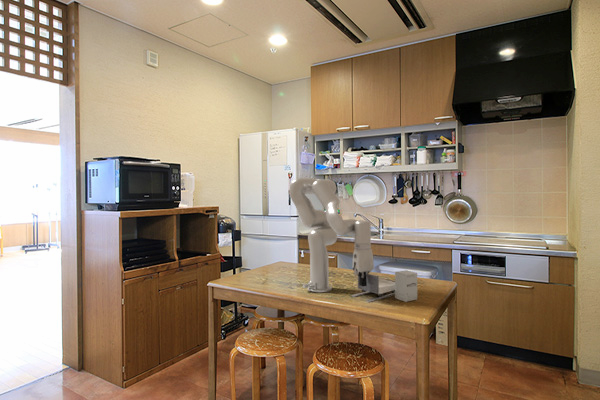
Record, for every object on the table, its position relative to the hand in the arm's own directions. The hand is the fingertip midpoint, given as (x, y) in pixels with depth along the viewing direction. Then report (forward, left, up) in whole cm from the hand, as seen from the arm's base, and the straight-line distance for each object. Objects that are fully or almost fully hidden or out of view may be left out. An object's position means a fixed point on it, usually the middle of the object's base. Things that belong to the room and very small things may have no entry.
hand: (362, 285), depth 167 cm
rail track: (+11, 0, -6) cm, 13 cm away
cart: (+10, 0, -5) cm, 12 cm away
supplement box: (+15, -13, -6) cm, 21 cm away
